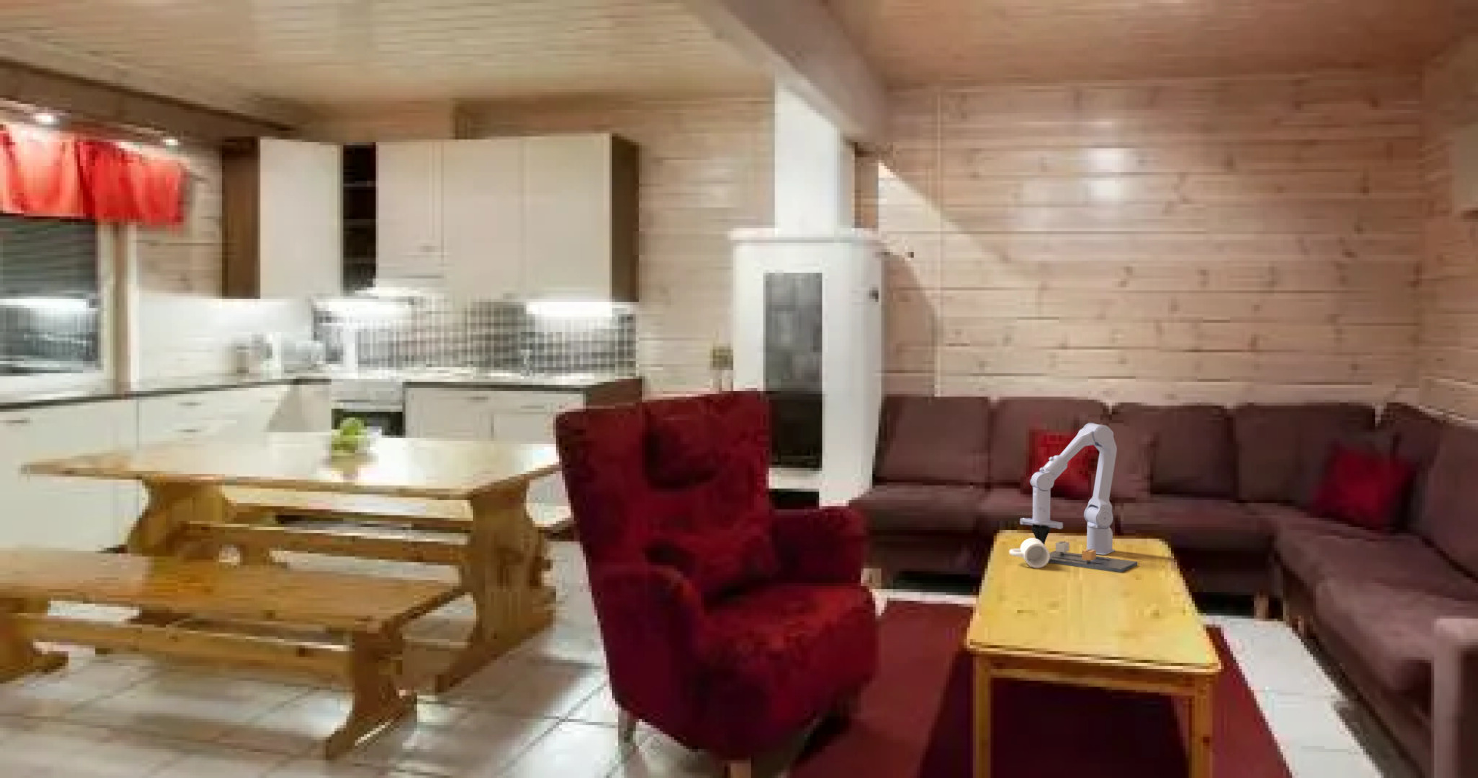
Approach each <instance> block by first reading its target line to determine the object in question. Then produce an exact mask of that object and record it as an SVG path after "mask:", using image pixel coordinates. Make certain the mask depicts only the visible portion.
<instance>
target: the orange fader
mask: <svg viewBox="0 0 1478 778" xmlns="http://www.w3.org/2000/svg"><path fill="white" fill-rule="evenodd" d="M1081 554H1082V560H1087V561H1088V562H1090V561H1091V560H1094V559H1096V556H1097V554H1096V550H1092V549H1087V548H1085V549H1083V550H1081Z"/></svg>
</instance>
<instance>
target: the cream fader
mask: <svg viewBox="0 0 1478 778" xmlns="http://www.w3.org/2000/svg"><path fill="white" fill-rule="evenodd" d="M1055 551H1057V552H1060V553H1065V552H1070V542H1069V541H1066V540H1065V541H1063V540H1062V541H1058V542H1056V543H1055Z"/></svg>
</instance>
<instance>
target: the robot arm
mask: <svg viewBox="0 0 1478 778" xmlns="http://www.w3.org/2000/svg"><path fill="white" fill-rule="evenodd" d="M1088 446H1094V447H1095V448H1096V450H1098V452H1099V455H1098V460H1097V468H1096V474H1095V480H1094V486H1093V492H1092V497H1091V498H1090V499H1089V501H1088V503H1087V507H1086V508H1085V510H1084V512H1083V517H1084V519H1085V521H1086V522H1087V524H1086V530H1087V532H1086V549H1092V550H1096V555H1102V556H1106V555H1108V554H1110V553H1113V552H1116V549H1115V548H1114V549H1113V535H1114V534H1113V530H1112V528H1111V527H1110V526H1111V525H1112V524H1113V521H1114V515H1113V505H1112V504H1111V502H1110V496H1111V490H1112V483H1113V477H1114V470H1115V465H1116V458H1117V451H1118V449H1117V448H1118V447H1117V444H1116V440H1115V439H1114V431H1113V430H1112V429H1111V428H1110V427H1109V426H1108V425H1105V424H1099V423H1098V424H1097V423H1094V422H1088V423H1086V424H1085V425H1084V426H1083V428H1080V429H1079V430H1078V433H1077V434H1076V436H1075V437H1074V438H1073V439H1072V440H1071V441H1070V443H1069V444H1068V445H1067V446H1066V447H1065V449H1063V451H1062V452H1061V453H1060V454H1059V455H1058V454H1057V455H1054V456H1050V457H1048V460H1049V461H1047V462H1046V464H1045V465H1044V466H1042V467H1040V468H1039V471H1036V472H1034V473H1033V475H1032V476H1031V479H1029V483H1030V485H1031V486H1032V518H1030V517H1029V518H1027V517H1026V518H1025V517H1022V518H1021V517H1020V519H1019V524H1020V525H1028V526H1031V531H1032V533H1033V535H1034V538H1036V539H1038V540H1040V541H1041V542H1042V543H1043V544H1044V545H1045V544H1046V541H1047V537H1048V536H1049V533H1050V531H1051V530H1052V529H1058V530H1061V529H1063V528H1064V522H1060V521H1055V520H1051V489H1052V488H1053V487H1054V485H1055V481H1056V480H1057V478H1058V477H1060V476H1061V474H1062V473H1063V472H1065V470H1066V469H1068V462H1070V460H1072V458H1073V457H1075V456H1076V454H1078V453H1079V452H1080V451H1081V450H1082V449H1083V448H1085V447H1088ZM1045 546H1046V545H1045Z"/></svg>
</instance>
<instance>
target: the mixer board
mask: <svg viewBox="0 0 1478 778" xmlns="http://www.w3.org/2000/svg"><path fill="white" fill-rule="evenodd" d="M1049 553H1050V558H1049V561H1048V563H1049V564H1050V563H1051V564H1056V565H1064V566H1070V567H1078V568H1084V569H1085V568H1086V569H1092V570H1098V571H1107V572H1112V573H1113V572H1114V573H1120V574H1121V573H1124V572H1126V571H1128V570H1131V569H1132V568H1135V567H1137V566H1138V561H1134V560H1127V559H1119V558H1115V557H1114V558H1111V557H1109V556H1107V557H1104V556H1098V555H1096V559H1094V560H1091V561H1090V562H1088V561H1087V560H1082V553H1077V552H1076V553H1075V552H1070V551H1067V552H1065V553H1060V552H1057V551H1056V550H1054V551H1050V552H1049ZM1048 563H1047V564H1048Z"/></svg>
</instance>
